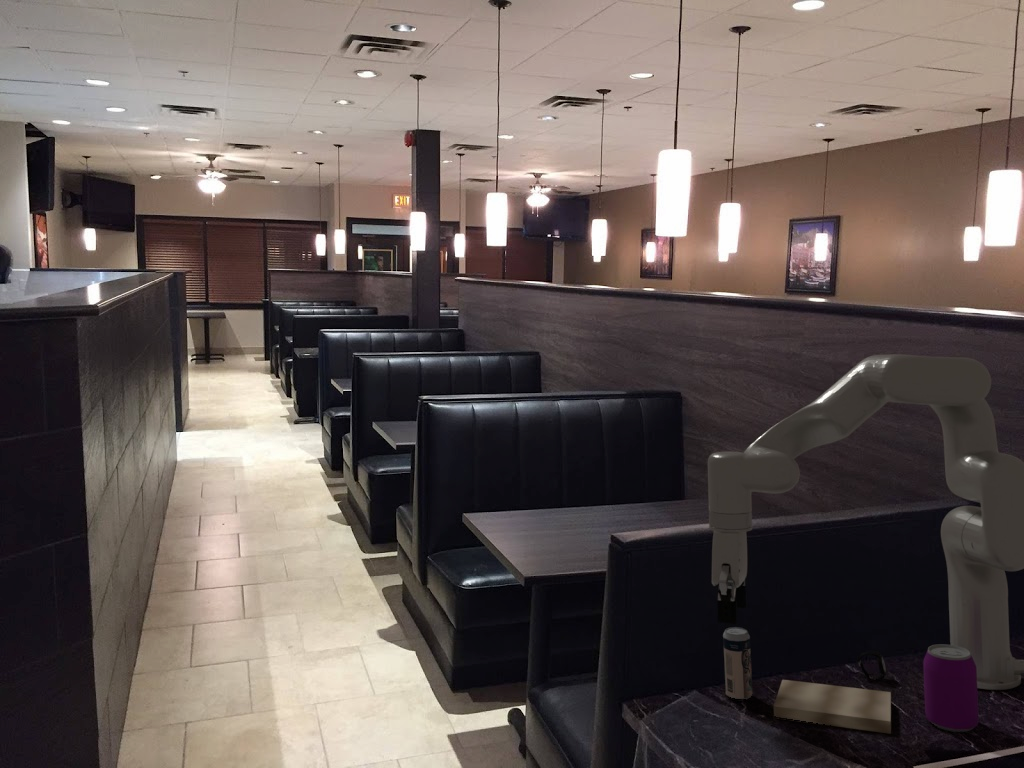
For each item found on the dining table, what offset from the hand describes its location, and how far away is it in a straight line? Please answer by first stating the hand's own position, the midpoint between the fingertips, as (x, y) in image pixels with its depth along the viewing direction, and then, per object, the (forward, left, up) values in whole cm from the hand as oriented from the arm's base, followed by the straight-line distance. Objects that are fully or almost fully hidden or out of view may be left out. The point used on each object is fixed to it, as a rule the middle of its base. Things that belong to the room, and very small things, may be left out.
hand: (732, 614), depth 146 cm
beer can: (0, 0, -15) cm, 15 cm away
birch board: (-16, +1, -15) cm, 22 cm away
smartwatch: (-22, -16, -15) cm, 32 cm away
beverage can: (-34, 0, -15) cm, 38 cm away
